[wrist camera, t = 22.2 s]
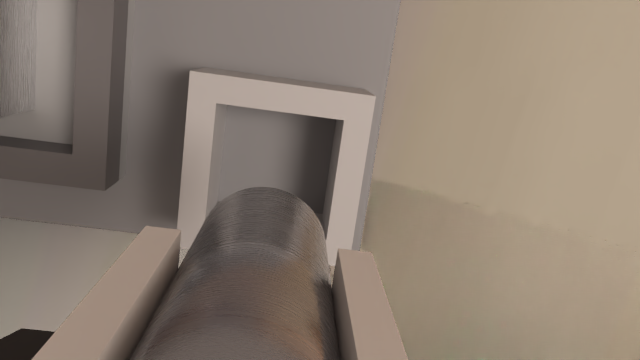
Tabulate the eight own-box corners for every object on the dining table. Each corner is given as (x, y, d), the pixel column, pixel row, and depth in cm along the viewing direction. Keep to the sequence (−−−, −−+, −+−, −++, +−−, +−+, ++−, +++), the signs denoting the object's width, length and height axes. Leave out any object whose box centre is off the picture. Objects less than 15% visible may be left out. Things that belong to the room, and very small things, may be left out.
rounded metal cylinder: (193, 297, 15) (11, 723, 6) (205, 178, 15) (19, 441, 5) (316, 312, 16) (340, 747, 6) (335, 196, 15) (398, 479, 5)
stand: (-168, 187, 29) (-272, 219, 24) (-194, -195, 25) (-329, -260, 20) (355, 248, 31) (367, 291, 26) (411, -97, 27) (439, -132, 21)
